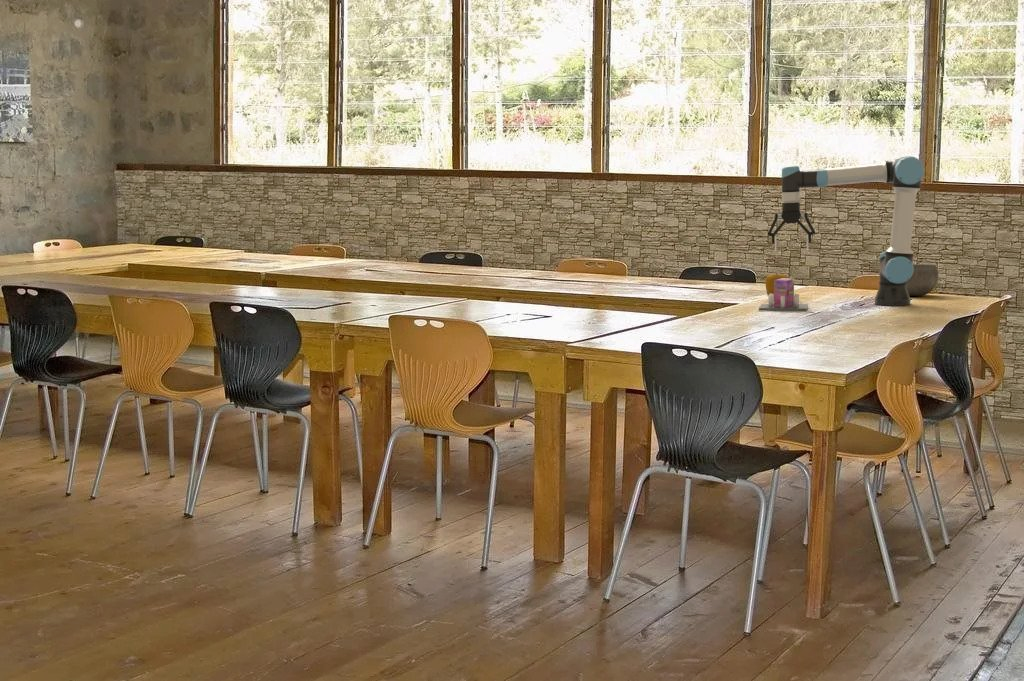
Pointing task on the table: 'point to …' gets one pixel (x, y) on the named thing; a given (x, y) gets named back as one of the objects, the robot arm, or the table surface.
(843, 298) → the table surface
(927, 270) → the bowl
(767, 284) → the apple
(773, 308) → the pin tray
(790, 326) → the table surface
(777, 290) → the box
